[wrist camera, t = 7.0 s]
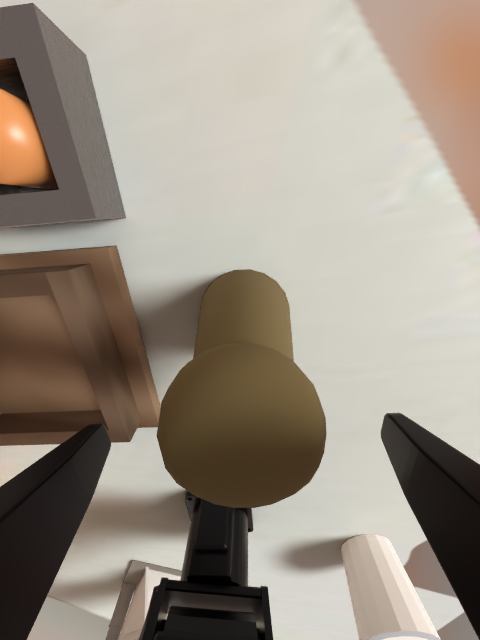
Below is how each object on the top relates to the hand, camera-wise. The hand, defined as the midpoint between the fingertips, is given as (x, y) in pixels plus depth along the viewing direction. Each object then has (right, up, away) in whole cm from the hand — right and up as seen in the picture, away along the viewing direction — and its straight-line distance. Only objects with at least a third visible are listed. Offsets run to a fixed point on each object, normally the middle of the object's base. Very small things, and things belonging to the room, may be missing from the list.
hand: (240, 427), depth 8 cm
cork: (0, +4, +9) cm, 10 cm away
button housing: (-10, +12, +5) cm, 17 cm away
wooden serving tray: (-15, +1, +10) cm, 18 cm away
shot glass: (+15, -23, +20) cm, 34 cm away
